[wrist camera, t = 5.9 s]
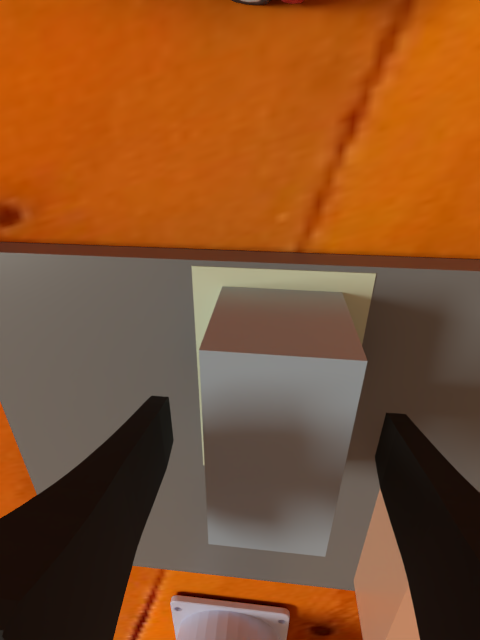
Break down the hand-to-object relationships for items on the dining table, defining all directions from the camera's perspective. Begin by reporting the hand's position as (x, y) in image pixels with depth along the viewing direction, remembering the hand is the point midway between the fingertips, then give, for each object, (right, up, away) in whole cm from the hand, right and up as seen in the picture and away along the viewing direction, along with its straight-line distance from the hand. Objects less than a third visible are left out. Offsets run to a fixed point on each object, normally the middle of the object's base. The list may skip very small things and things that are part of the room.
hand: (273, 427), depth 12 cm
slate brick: (0, +1, +2) cm, 2 cm away
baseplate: (0, -2, +5) cm, 6 cm away
